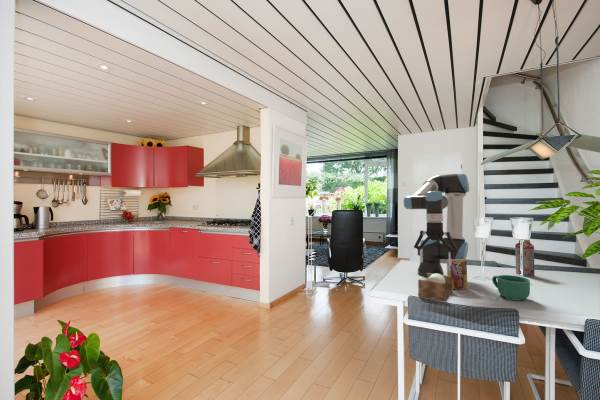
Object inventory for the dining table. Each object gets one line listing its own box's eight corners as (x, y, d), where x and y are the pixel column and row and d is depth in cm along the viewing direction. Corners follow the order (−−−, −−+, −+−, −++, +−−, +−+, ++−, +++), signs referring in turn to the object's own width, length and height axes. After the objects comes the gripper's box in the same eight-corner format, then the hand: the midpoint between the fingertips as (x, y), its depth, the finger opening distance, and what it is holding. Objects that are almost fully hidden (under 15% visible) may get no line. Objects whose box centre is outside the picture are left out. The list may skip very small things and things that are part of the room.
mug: (537, 301, 135) (536, 280, 135) (514, 303, 133) (514, 282, 133) (505, 290, 152) (505, 272, 152) (484, 292, 149) (484, 274, 149)
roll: (430, 288, 155) (428, 273, 156) (446, 289, 150) (444, 273, 151) (424, 294, 145) (422, 278, 146) (441, 295, 141) (439, 278, 141)
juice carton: (534, 276, 180) (533, 240, 181) (523, 276, 180) (523, 240, 181) (526, 273, 187) (525, 239, 187) (515, 273, 187) (515, 239, 187)
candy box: (463, 287, 159) (462, 258, 159) (467, 289, 155) (467, 260, 155) (446, 287, 159) (446, 259, 159) (451, 289, 155) (450, 260, 155)
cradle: (418, 296, 144) (418, 279, 144) (427, 287, 159) (427, 272, 159) (444, 300, 137) (444, 283, 137) (452, 291, 151) (452, 275, 151)
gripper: (407, 221, 153) (408, 262, 153) (461, 223, 138) (462, 268, 138) (411, 220, 159) (412, 259, 159) (463, 221, 144) (464, 265, 144)
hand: (435, 263), depth 148 cm, fingers open, 13 cm apart
